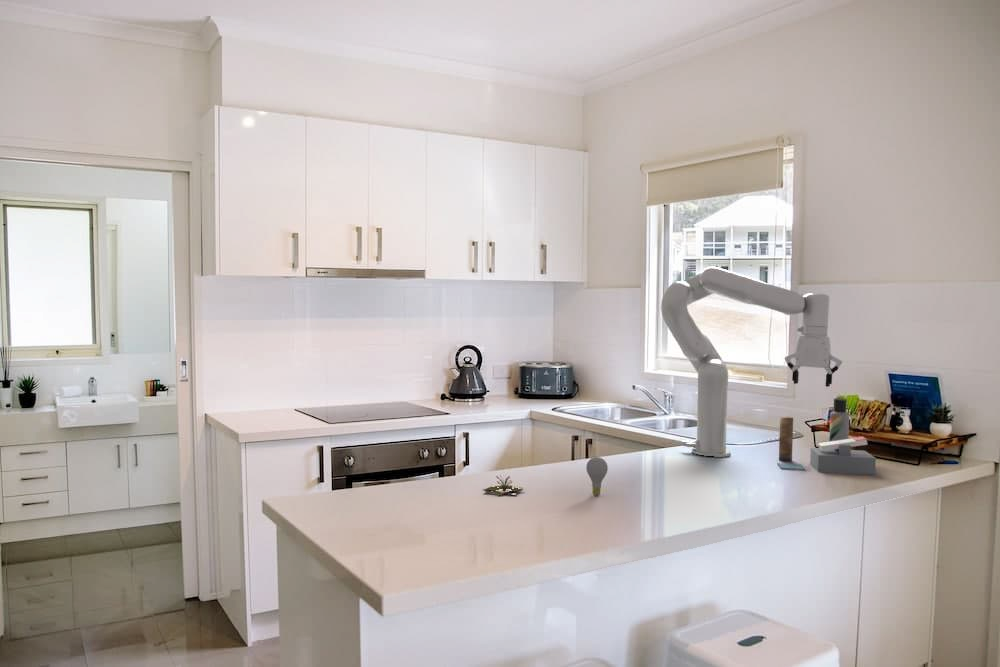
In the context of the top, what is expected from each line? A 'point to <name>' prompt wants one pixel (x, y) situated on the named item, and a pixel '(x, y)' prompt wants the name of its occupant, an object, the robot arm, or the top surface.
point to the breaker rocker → (843, 443)
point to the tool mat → (791, 466)
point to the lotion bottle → (839, 420)
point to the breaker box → (843, 460)
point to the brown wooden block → (786, 439)
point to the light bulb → (596, 473)
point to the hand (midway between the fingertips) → (811, 384)
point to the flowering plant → (502, 487)
